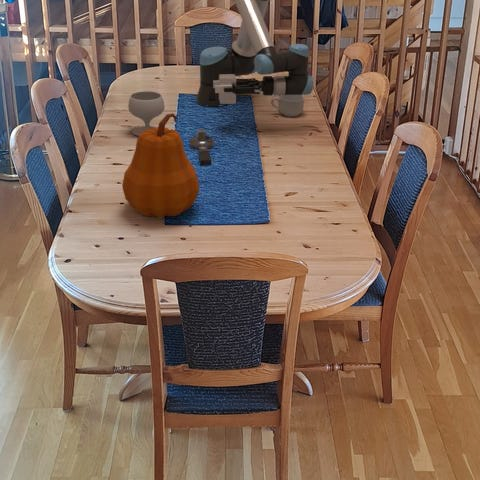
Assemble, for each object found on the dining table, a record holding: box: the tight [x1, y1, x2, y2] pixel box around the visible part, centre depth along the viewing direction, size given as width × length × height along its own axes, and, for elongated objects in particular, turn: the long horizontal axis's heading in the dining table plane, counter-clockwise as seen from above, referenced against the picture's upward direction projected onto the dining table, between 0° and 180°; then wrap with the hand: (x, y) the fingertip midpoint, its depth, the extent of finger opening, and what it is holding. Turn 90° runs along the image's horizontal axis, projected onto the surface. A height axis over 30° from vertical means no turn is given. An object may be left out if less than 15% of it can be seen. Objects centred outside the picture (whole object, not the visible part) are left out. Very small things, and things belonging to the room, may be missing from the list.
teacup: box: [270, 95, 305, 118], centre depth 319 cm, size 14×11×8 cm
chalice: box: [127, 91, 165, 137], centre depth 294 cm, size 14×14×15 cm
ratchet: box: [189, 129, 215, 166], centre depth 278 cm, size 24×9×6 cm, turn 7°
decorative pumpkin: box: [121, 113, 201, 219], centre depth 229 cm, size 24×24×30 cm
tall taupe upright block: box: [219, 74, 237, 105], centre depth 294 cm, size 6×6×10 cm
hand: (214, 86), depth 293 cm, fingers closed on tall taupe upright block, 6 cm apart
